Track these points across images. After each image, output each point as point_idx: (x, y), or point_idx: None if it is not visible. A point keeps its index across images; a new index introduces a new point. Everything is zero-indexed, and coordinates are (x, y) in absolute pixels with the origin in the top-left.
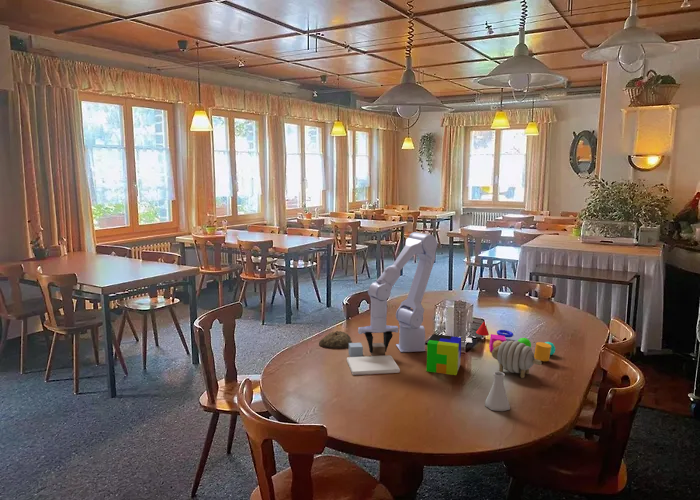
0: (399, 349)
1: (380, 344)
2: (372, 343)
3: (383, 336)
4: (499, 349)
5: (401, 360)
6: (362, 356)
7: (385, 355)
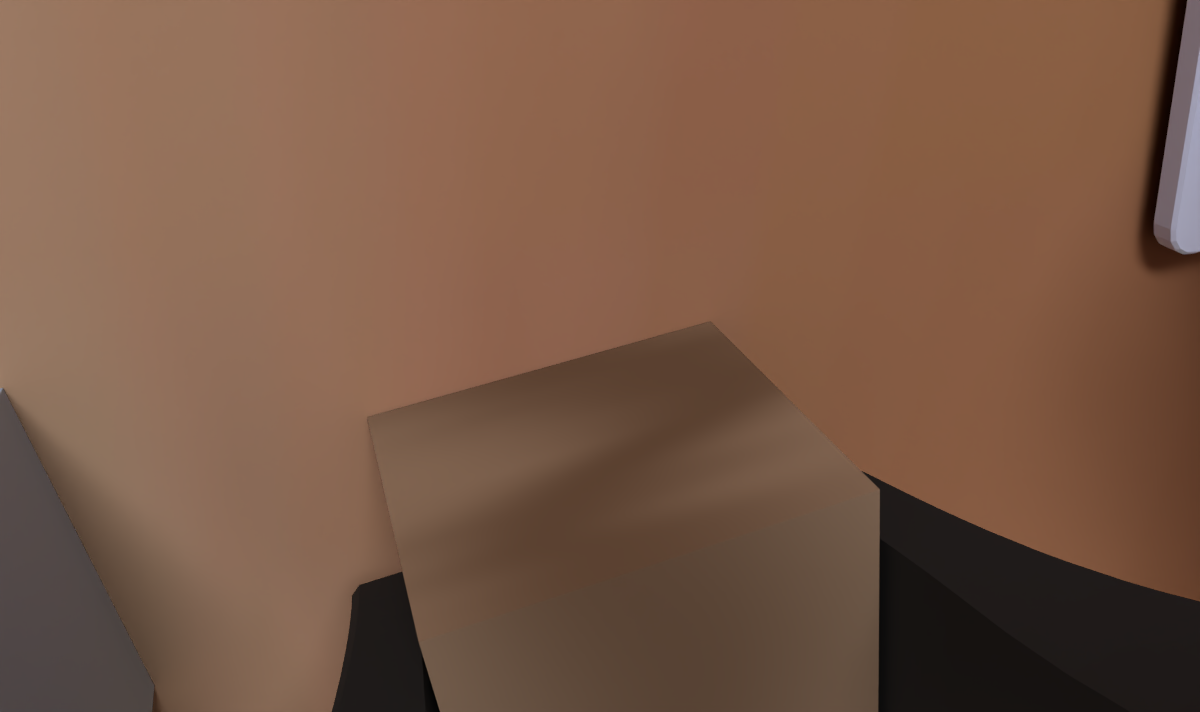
0: (1187, 114)
1: (771, 664)
2: (491, 657)
3: (1075, 685)
4: None
5: None
6: (146, 700)
7: None
